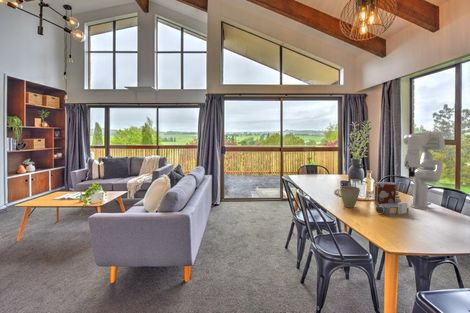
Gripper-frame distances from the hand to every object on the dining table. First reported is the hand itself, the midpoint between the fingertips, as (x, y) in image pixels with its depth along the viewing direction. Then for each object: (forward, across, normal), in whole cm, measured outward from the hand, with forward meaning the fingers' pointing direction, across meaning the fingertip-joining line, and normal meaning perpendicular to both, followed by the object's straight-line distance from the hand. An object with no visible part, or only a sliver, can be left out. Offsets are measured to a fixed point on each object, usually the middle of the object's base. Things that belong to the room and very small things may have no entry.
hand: (411, 176), depth 188 cm
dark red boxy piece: (+29, -2, -22) cm, 36 cm away
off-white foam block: (+28, +7, 0) cm, 29 cm away
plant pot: (+29, +31, -28) cm, 51 cm away
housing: (+29, +13, -5) cm, 32 cm away
